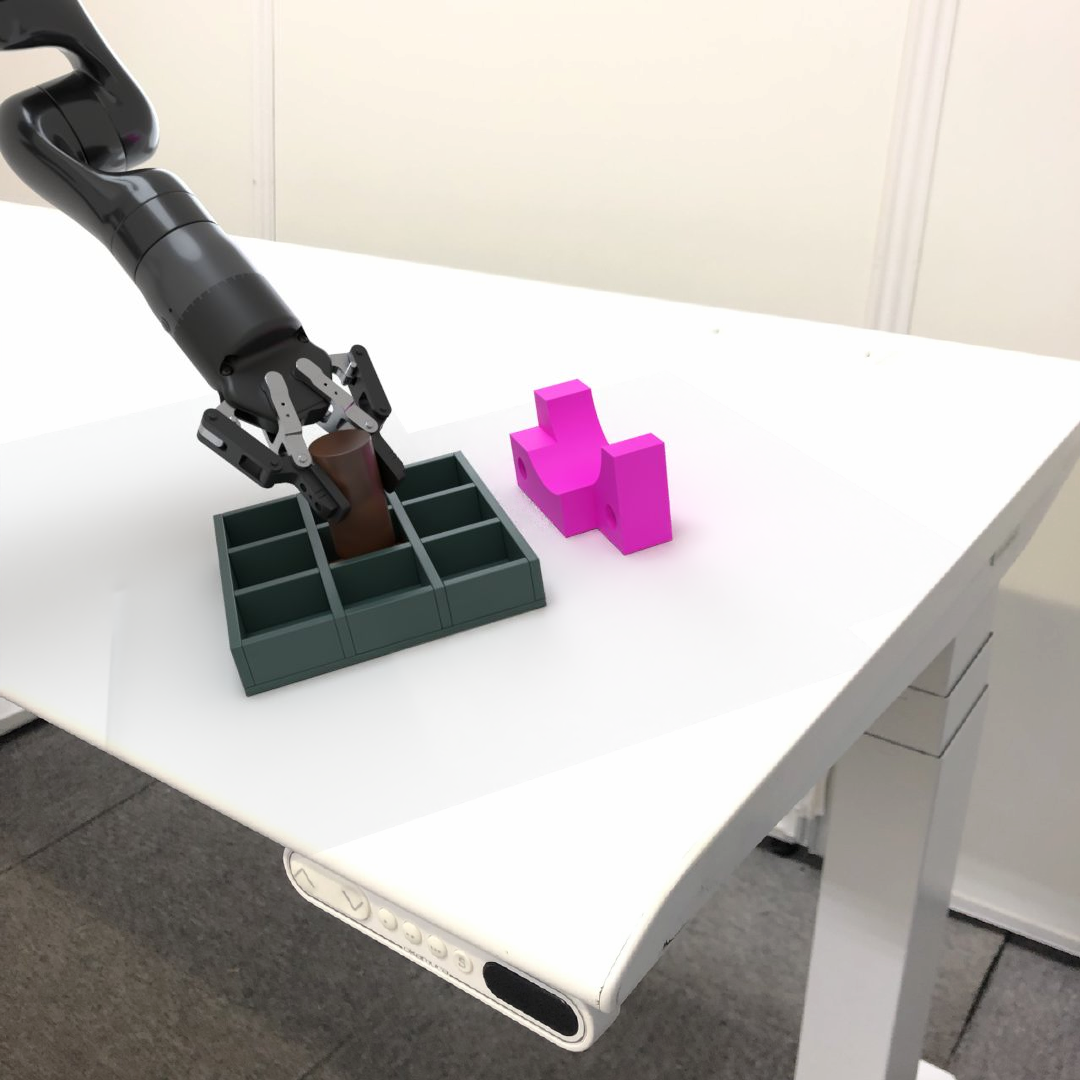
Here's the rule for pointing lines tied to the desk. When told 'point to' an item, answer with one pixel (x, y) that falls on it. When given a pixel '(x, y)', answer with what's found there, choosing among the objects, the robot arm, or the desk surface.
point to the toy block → (592, 472)
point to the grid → (369, 576)
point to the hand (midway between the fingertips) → (371, 500)
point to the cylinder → (355, 492)
